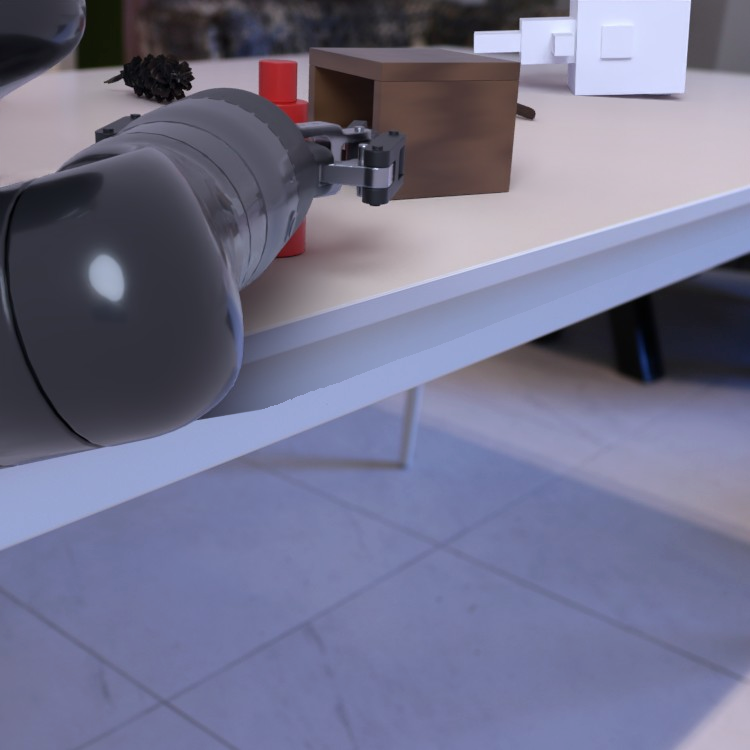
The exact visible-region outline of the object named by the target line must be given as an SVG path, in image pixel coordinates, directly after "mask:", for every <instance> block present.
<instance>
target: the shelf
mask: <svg viewBox="0 0 750 750" xmlns="http://www.w3.org/2000/svg"><path fill="white" fill-rule="evenodd" d="M308 50H309V52H308V53H309V54H308V59H309V60H308V95H307V96H308V98H307V99H308V100H307V102H308V122H315V121H322V122H327V123H332V124H337V125H340V126H341V128H342V129H346V128H347V127H348V126H349V125H350V124H351V123H352V122H353V121H354V120H359V121H367V129H375V130H377V131H378V136H379V135H380V134H381V133H383V132H389V130H398V131H399V133H404V134H406V144H405V162H404V180H403V185H402V186H401V187H400V188H399V190H398V191H397V192H396V193H395V195H394V196H393V197H392V198H391V200H390V201H393V200H394V201H396V200H409V199H422V198H423V199H424V198H436V197H437V198H438V197H449V196H452V197H453V196H465V195H479V194H493V193H494V194H495V193H505V192H506V193H507V192H508V193H509V192H510V186H511V175H512V174H511V173H512V164H513V150H514V144H515V143H514V142H515V131H516V122H517V121H516V119H517V115H516V110H517V103H518V98H519V86H520V78H521V77H520V74H521V66H522V65H521V63H520V61H514V60H509V59H502V58H496V57H492V56H491V57H490V56H486V55H480V54H475V53H473V54H472V53H467V52H462V51H455V50H450V49H444V48H438V47H437V48H436V47H434V48H433V47H309V48H308ZM308 141H311V142H313V143H314V139H313V138H308ZM341 161H345V144H344V145H343V147H342V152H341Z"/></svg>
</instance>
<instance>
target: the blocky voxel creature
mask: <svg viewBox="0 0 750 750" xmlns="http://www.w3.org/2000/svg"><path fill="white" fill-rule="evenodd" d="M691 6H692V0H569V15H568V16H546V17H545V16H544V17H541V16H540V17H520V18H519V27H518V28H519V29H515V30H511V29H509V30H480V31H479V30H478V31H477V30H476V31H473V32H474V33H473V54H491V53H492V54H494V53H496V54H497V53H518V60H519V62H520V63H521V66H522V65H553V64H554V65H556V64H558V65H559V64H567V78H566V79H567V80H566V81H567V83H566V84H567V86H568V88H569V89H570V91H571V92H572V93H573V95H574V96H610V95H613V96H615V95H617V96H619V95H646V96H668V95H669V96H670V95H672V94H685V91H686V76H687V64H688V51H689V48H688V47H689V36H690V35H689V34H690V21H691V8H692V7H691Z"/></svg>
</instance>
